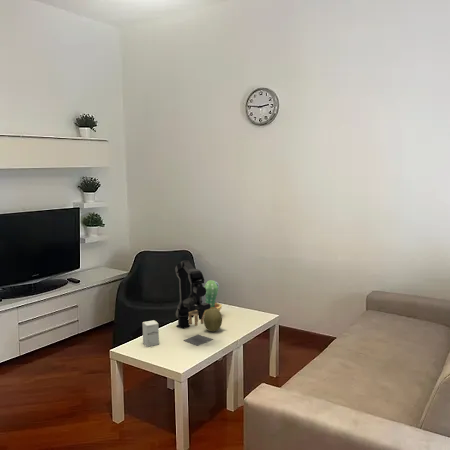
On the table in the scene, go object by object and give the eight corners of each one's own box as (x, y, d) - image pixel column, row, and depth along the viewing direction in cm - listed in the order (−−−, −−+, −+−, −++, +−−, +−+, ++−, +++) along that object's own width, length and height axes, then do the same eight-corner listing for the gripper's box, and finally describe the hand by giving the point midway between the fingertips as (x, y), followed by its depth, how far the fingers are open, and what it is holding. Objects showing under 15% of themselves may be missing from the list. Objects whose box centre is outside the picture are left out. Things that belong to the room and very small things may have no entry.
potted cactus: (224, 319, 311) (224, 282, 308) (201, 322, 307) (201, 284, 304) (219, 312, 326) (218, 277, 323) (197, 314, 322) (196, 278, 319)
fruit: (225, 331, 290) (225, 307, 288) (211, 335, 283) (211, 311, 281) (214, 326, 299) (214, 303, 297) (200, 330, 291) (199, 307, 290)
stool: (188, 323, 274) (188, 312, 273) (196, 321, 278) (196, 309, 277) (196, 326, 270) (195, 314, 269) (203, 323, 274) (203, 311, 273)
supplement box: (146, 347, 266) (146, 325, 265) (142, 342, 273) (142, 321, 271) (159, 344, 270) (158, 323, 268) (155, 340, 276) (154, 319, 274)
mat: (183, 340, 275) (183, 340, 275) (198, 335, 284) (198, 334, 284) (198, 345, 267) (198, 345, 267) (212, 339, 276) (212, 339, 276)
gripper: (174, 292, 272) (175, 318, 274) (196, 298, 260) (197, 325, 261) (188, 288, 280) (189, 314, 282) (211, 294, 268) (211, 320, 270)
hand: (196, 318), depth 274 cm, fingers closed on stool, 6 cm apart
